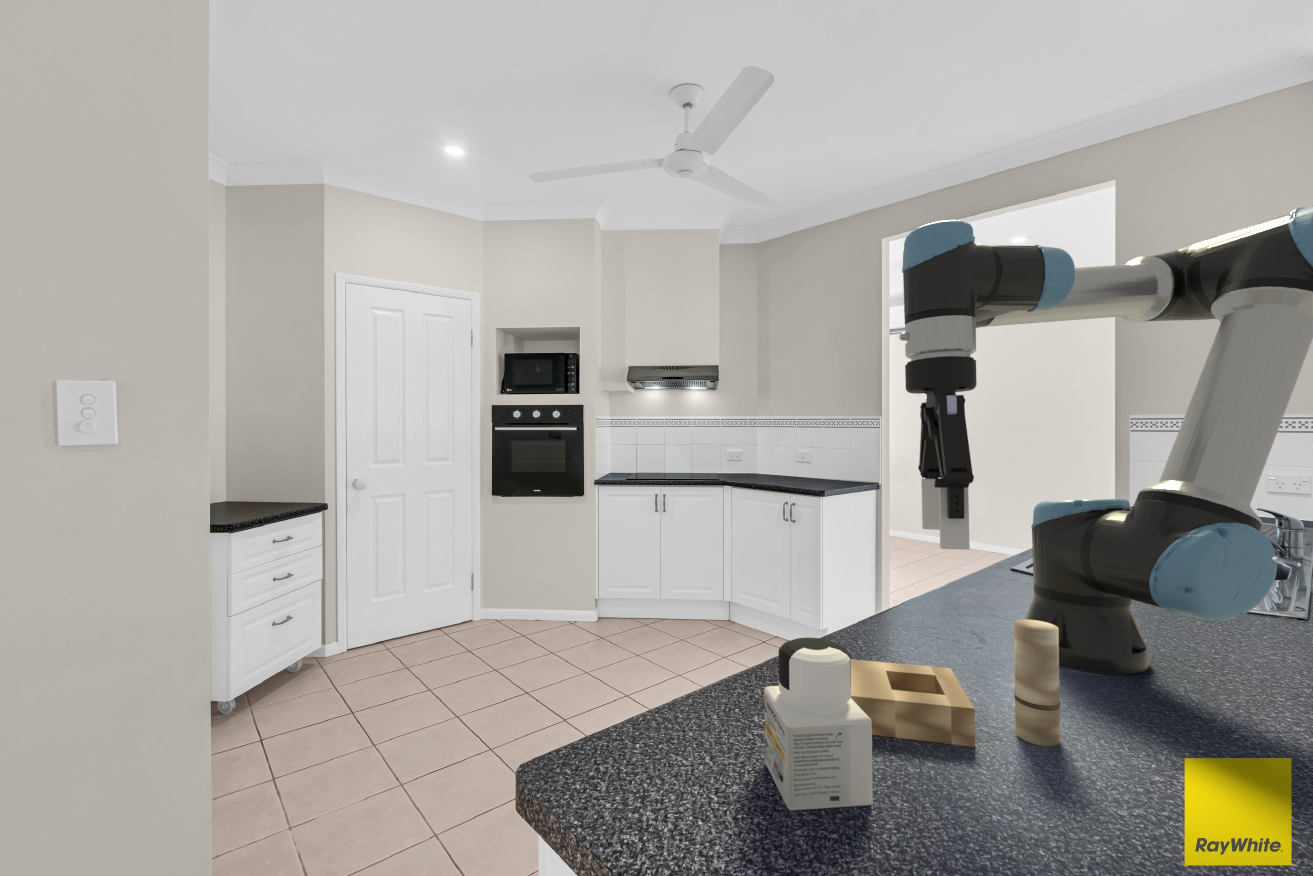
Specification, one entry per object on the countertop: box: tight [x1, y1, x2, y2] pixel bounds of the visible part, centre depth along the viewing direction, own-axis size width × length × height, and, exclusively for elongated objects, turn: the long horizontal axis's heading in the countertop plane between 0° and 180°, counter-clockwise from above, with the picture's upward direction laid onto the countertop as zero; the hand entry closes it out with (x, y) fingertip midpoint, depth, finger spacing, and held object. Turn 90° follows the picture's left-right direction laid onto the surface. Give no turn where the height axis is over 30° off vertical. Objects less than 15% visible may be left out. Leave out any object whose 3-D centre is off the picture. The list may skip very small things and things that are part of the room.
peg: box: [1013, 619, 1061, 748], centre depth 62 cm, size 4×4×12 cm
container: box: [763, 637, 873, 811], centre depth 54 cm, size 8×8×13 cm
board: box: [851, 658, 976, 748], centre depth 68 cm, size 20×11×4 cm, turn 75°
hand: (943, 538), depth 68 cm, fingers open, 13 cm apart
